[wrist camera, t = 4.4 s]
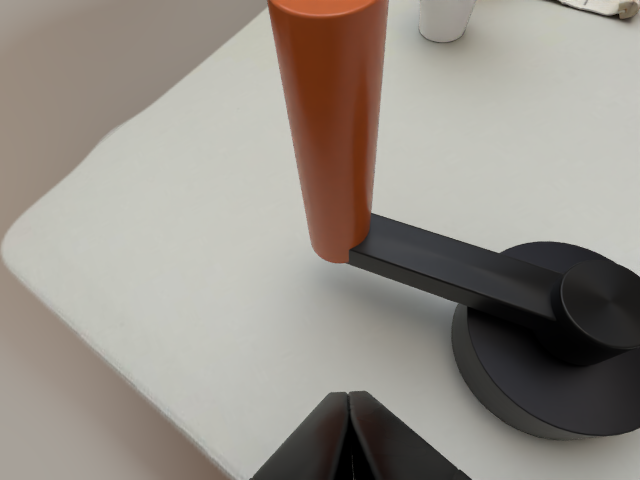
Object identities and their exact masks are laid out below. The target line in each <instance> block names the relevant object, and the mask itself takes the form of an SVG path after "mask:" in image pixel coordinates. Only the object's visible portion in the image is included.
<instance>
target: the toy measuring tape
mask: <svg viewBox="0 0 640 480" xmlns="http://www.w3.org/2000/svg"><path fill="white" fill-rule="evenodd" d="M558 1H560V2H561V3H562V4H567V5H569V6H571V7H575V8H578V9H579V10H581V9H582V10H585V11H591V12H595V13H598V14H603V15H608V16H611V15H614V14H617V13H619V16H620V19H624V18H628V17H632V16H634V15H635V14H636V13H637V12H638V10H639V9H640V0H558Z"/></svg>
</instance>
